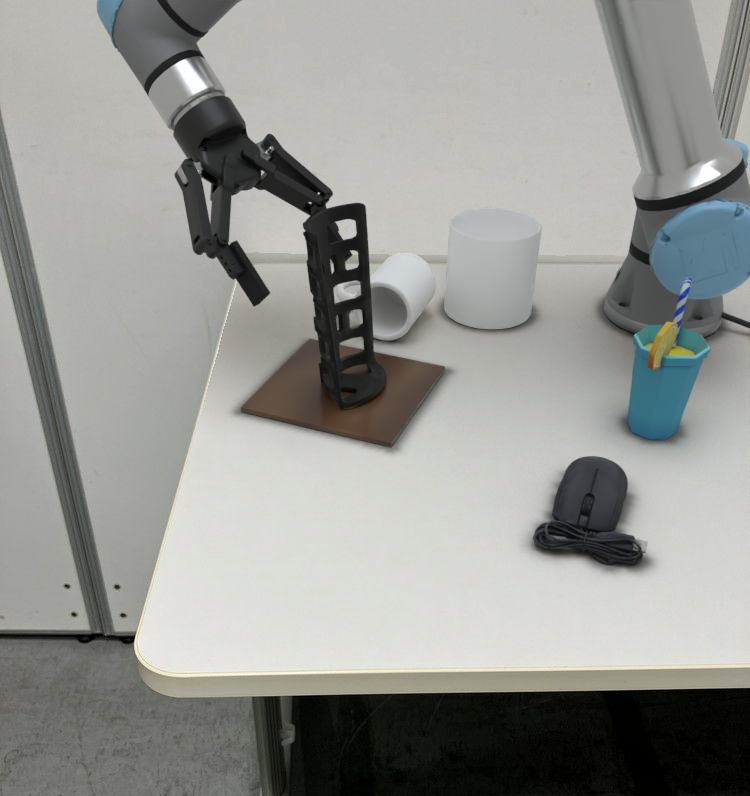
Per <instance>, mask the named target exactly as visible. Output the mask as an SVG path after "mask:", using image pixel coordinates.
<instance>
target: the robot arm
mask: <svg viewBox="0 0 750 796" xmlns="http://www.w3.org/2000/svg"><path fill="white" fill-rule="evenodd" d="M241 1H243V0H97V1H96V13H97V15H98V18H99V20H100V22H101V23H102V25H103V27H104V29H105V31H106V32H107V34H108V36H109V38H110V40H111V43H112V45H113V47H114V48H115V49H116V50H117V52H118V53H119V54H120V55H121V56H122V59H124V61H125V63H126V64H127V66H128V67H129V69H130V71H131V72H132V74H133V75H134V76H135V78H136V79H137V81H138V82H139V84H140V85H141V86H142V88H143V90H144V92H145V94H146V95H147V97H148V99H149V100H150V102H151V103H152V105H153V106H154V108H155V110H156V111H157V113H158V115H159V116H160V118H161V119H162V121H163V122H164V124H165V125H166V127H167V129H169V130H170V131H173V134H172V135H173V138H174V140H175V142H176V143H177V145H178V147H179V148H180V149H181V151H182V153H183V154H184V155H185V157H186V158H184V159H183V161H182V162H181V164H180V165H179V166H178V168H177V169H176V171H175V172H174V178H175V180H176V182H177V184H178V186H179V187H180V189H181V192H182V196H183V202H184V209H185V213H186V218H187V219H186V220H187V225H188V231H189V236H190V242H191V247H192V250H193V253H194V254H195V255H197V256H202V255H203V254H205V255H206V257H207V258H208V259H211V260H214V259H216V258H217V260H218V262H219V263H220V265H221V266H222V268H223V269H224V271H225V272H226V274H227V276H228V278H230V279H231V280H236V282H237V283H238V285H239V286H240V288H241V289H242V291H243V293H244V294H245V296H246V297H247V299H248V300H249V302H250V303H251V305H252V306H253V307H256V306H259V305H260V304H261V303H262V302H263V301H265V299H266V298H267V297H268V296H270V294H271V291H270V290H269V288H268V287H267V285H266V284H265V282H264V281H263V279H262V277H261V276H260V274H259V272H258V271H257V270H256V268H255V266H254V265H253V263H252V262H251V260H250V259H249V257H248V255H247V253H245V251H244V249H243V247H242V246H241V245H240V243H239V241H238V240H234V241H231V242H230V229H231V227H230V226H231V213H232V212H231V211H232V197H233V196H236V195H238V194H240V192H241V191H243V192H244V191H250V190H252V189H254V188H255V189H256V190H258V191H266V192H267V193H269V194H271V195H273V196H275V197H276V198H279V199H280V200H282V201H284V202H285V203H287V204H289V205H290V206H292V207H294V208H295V209H297V210H298V211H301V212H303V213H304V214H306V215H308V216H309V217H307V218H306V220H305V221H307V220H308V219H309V218H311V217H312V216H314V215H315V214H317V213H318V212H320V211H322V210H324V209H327V208H328V207H327V203H328V202H329V201H330V199H331V198H332V197H333V195H334V192H333V190H332V189H331V188H330V187H329V186H328V185H326V183H325V182H323V181H322V180H321V179H320V178H319V177H317V176H316V175H315V174H314V173H313V172H311V171H310V170H309V169H308V168H307V167H306V166H305V165H303V164H302V163H301V162H299V160H297V159H296V158H295V157H294V156H292V155H291V154H290V153H289V152H288V151H287V150H286V149H284V147H283V146H282V144H281V143H280V141H278V139H277V138H276V137H275V136H274V135H273V134H272V133H267V134H266V135H265V137H264V138H263V139H262V140H261V141H259V142H257V143H255V142H254V141H253V140H252V139H251V138H250V137H249V135H248V132H247V124H246V121H245V119H244V117H243V116H242V115H241V113H240V112H239V110H238V109H237V107H236V105H235V103H234V101H233V100H232V99H231V98H230V97H229V96H226V95H227V90H226V89H225V88H224V85H223V84H222V83H221V81H220V79H219V78H218V76H217V75H216V73H215V72H214V70H213V69H212V67H211V66H210V64H209V62H208V61H207V59H206V58H205V56H204V55H203V53H202V51H201V49H200V47H199V45H198V42H200V40H201V39H202V38H204V37H205V36H206V35H207V34H208V33H209V32H210V30H211V29H212V28H213V27H214V26H215V25H216V24H217V23H219V22H220V20H221V19H222V18H223V17H224V16H225V15H227V14H228V12H229V11H231V10H232V8H234V7H235V6H236V5H237V4H239V3H240V2H241ZM593 4H594V7H595V11H596V14H597V18H598V21H599V25H600V29H601V32H602V36H603V39H604V42H605V46H606V51H607V54H608V56H609V60H610V64H611V68H612V71H613V74H614V78H615V82H616V85H617V88H618V92H619V96H620V99H621V103H622V106H623V109H624V114H625V117H626V121H627V124H628V128H629V131H630V135H631V138H632V142H633V145H634V150H635V153H636V156H637V159H638V163H639V166H640V172H639V173H638V176H637V177H636V179H635V180H634V183H633V184H632V187H631V191H632V196H633V199H634V201H635V206H636V210H635V215H634V221H633V227H632V232H631V237H630V241H629V248H628V252H627V255H626V257H625V258H624V261H623V262H622V264H621V265H619V267H618V269H617V270H616V273H615V276H614V278H613V281H612V282H611V284H610V286H609V288H608V290H607V292H606V294H605V298H604V299H605V300H604V305H603V310H604V313H605V316H606V317H607V318H608V320H610V321H611V323H613V324H614V325H616V326H618V327H619V328H621V329H623V330H626V331H627V332H629V333H633V334H636V333H638V332H639V331H641V330H643V329H644V328H646V327H648V326H649V325H665V323H666V322H673V320H674V316H675V312H676V308H677V304H678V299H679V295H680V291H681V286H682V284H683V282H684V280H685V278H688V277H689V278H691V279H692V283H691V287H690V290H689V293H688V297H687V301H686V305H685V309H684V313H683V317H682V321H681V325H680V327H683V328H686V329H688V330H691V331H694V332H697V333H699V334H701V335H702V336H703V338H706V337H708V336H710V335H712V334H714V333H715V332H716V331H718V330H719V328H720V327H721V325H722V324H721V323H722V319H723V320H726V321H728V322H731V323H734V324H736V325H739V326H742V327H745V328H747V329H749V330H750V321H748V320H745V319H743V318H740V317H737V316H735V315H731V314H729V313H727V312H724V297H723V296H724V295H727V294H729V293H730V292H732V291H734V290H736V289H737V288H739V287H740V286H742V285H744V283H746V282H747V280H749V278H750V181H749V177H748V172H747V168H748V166H749V162H748V161H749V160H748V159H749V148H748V146H747V145H746V144H745V143H743V142H742V141H739V140H735V139H733V138H732V139H731V138H726V137H723V132H722V128H721V125H720V120H719V116H718V112H717V107H716V104H715V98H714V93H713V91H712V86H711V81H710V77H709V73H708V69H707V64H706V60H705V55H704V50H703V47H702V43H701V38H700V33H699V29H698V26H697V20H696V17H695V11H694V8H693V4H692V0H593ZM262 172H263V173H262ZM202 179H203V180H205V181H206V182H208V183H209V184H210V197H209V201H211V208H210V215H209V212H208V205H207V199H206V195H205V194H206V193H205V188H204V183H203V181H202ZM327 231H328V238H329V243H332V242H336V241H340V240H344V239H343V237H342V235H341V234H340V227H339V225H338V224H337V222H332V223H330V224H329V225H327ZM229 243H230V244H229ZM344 255H345V263H346V262H347V261H348V260H349V259H350V258H351V257H353V253H352V251H347V252H346V253H344ZM330 262H331V263H332V264H333V258H332V256H331V257H330Z"/></svg>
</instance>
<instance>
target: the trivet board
mask: <svg viewBox="0 0 750 796" xmlns="http://www.w3.org/2000/svg"><path fill="white" fill-rule="evenodd" d="M363 350H364V349H362V348H358V347H352V346H347V345H342V344H340V345H339V353H340V359H341V358H343V357H346V356H348V355H352V354H356V353H359V352H361V351H363ZM320 357H322V356H321V354H320V351H319V341H318V339H315V338H309V339H307V340H306V341H305V342H304V344H303V345H302V346H301V347H299V349H297V350H296V351H295V352H294V354H292V355H291V356H290V357H289V358H288V359H287V360H286V361H285V362H284V363H283V365H281V366H280V367H279V368H278V369H277V371H275V373H273V374H272V375H271V376H270V377H269V378H268V379H267V380H266V381H265V382H264V383H263V384H262V385H261V386H260V387H259V388H258V389H257V391H255V392H254V393H253V394H252V395H251V396H250V397H249V398H248V399H247V400H246V401H245V403H243V405H242V406H241V407H240V412H241V413H245V414H248V415H249V414H250V415H253V416H258V417H261V418H262V417H263V418H266V419H270V420H275V421H280V422H283V423H287V424H292V425H295V426H296V425H297V426H300V427H304V428H309V429H313V430H317V431H321V432H326V433H329V434H334V435H338V436H342V437H345V438H346V437H347V438H351V439H355V440H359V441H363V442H368V443H372V444H375V445H381V446H385V447H389V448H391V447H393V445H394V443H396V441H397V439H398V438H399V436H400V435H401V434H402V432H403V431H404V429H405V428H406V427H407V425H408V424H409V422H410V421H411V419H412V418H413V417H414V415H415V414H416V412H417V411H418V409H419V408H420V407H421V405H422V403H423V402H424V401H425V399H426V398H427V396H428V395H429V393H430V392H431V391H432V389H433V388H434V386H435V385H436V384H437V383H438V381H439V379H440V378H441V377H442V375H443V374H444V372H445V371H446V366H444V365H440V364H436V363H435V364H434V363H430V362H425V361H420V360H415V359H410V358H406V357H401V356H396V355H391V354H387V353H382V352H376V351H374V357H375V360H376V361H377V363H378V364H380V365H381V366H382V367H383V368H384V370H385V372H386V376H387V380H386V385H385V386H384V388H383V389H382V390H381V391H380V392H379V393H378V394H377V395H376V396H374V397H373V398H372V399H370V400H368V401H366V402H364V403H362V404H360V405H358V406H356V407H353V408H350V409H341V408H340V407H339V405H338V403H337V402H336V401H335V400H333V399H332V398H331V397H330V396H329V395H328V394H327V393H326V391H325V389H324V386H323V385H322V384H321V379H320V370H319V363H321V358H320ZM342 373H346V374H358V375H368V374H370V373H371V372H370V370H369V369H368V367H367V365H366V364H362V365H357V366H353V367H351V368H348V369H346V370H344V371H343V372H342ZM355 393H356V391H350V390H342V389H341V396H342V399H344V398H346V397H348V396H351V395H353V394H355Z"/></svg>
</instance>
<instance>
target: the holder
mask: <svg viewBox="0 0 750 796" xmlns="http://www.w3.org/2000/svg"><path fill="white" fill-rule="evenodd" d="M366 207H367V206H366V205H365V203H362V202H352V203H343V204H339V205H335V206H330V207H326V208H327V209H324V210H322V211H320V212H318V213H317V214H315V215H314V216H312V217H311V218H309V217H308V218H309V219H308V218H307V219H308V220H307V219H306V220H307V221H306V220H305V221H304V222H302V228H303V230H304V231H303V232H302V234H303V237H304V240H305V245H306V253H307V260H306V268H307V276H308V282H309V283H308V284H309V285H308V286H309V291H310V293H311V295H312V302H313V307H314V315H315V316H313V317H312V318H313V327H314V332H316V335H317V340H318V341H319V351H320V354H321V356H322V357H320V358H321V363H319V370H320V379H321V384H322V385H323V386H324V389H325V391H326V393H327V394H328V395H329V396H330V397H331V398H332V399H333V400H335V401H336V402H337V403H338V405H339V407H340V408H341V409H350V408H353V407H356V406H358V405H360V404H362V403H364V402H366V401H368V400H370V399H372V398H373V397H374V396H376V395H377V394H378V393H379V392H380V391H381V390H382V389H383V388H384V386H385V385H386V380H387V376H386V372H385V370H384V368H383V367H382V366H381V365H380V364H378V363H377V361H376V360H375V357H374V352H375V349H374V337H373V320H372V301H371V284H370V275H371V269H370V268H371V267H370V251H369V250H370V248H369V236H368V235H369V232H368V221H367V219H368V218H367V217H368V216H367V208H366ZM345 220H352V221H354V222H355V230H356V232H355V235H354V236H353V237H351V238H346V239H343V240H340V241H336V242H332V243H329V238H328V231H327V225H329V224H330V223H332V222H336V223H337V222H341V221H345ZM347 251H351V252H352V251H353V252H357V257H358V259H357V260H358V265H357V267H355V268H350V269H347V267H346V262H345V255H344V253H346V252H347ZM331 256H332V258H333V263H332V264H333V265H332V264H331V259H330V257H331ZM332 266H333V271H332ZM350 281H359V282H360V285H359V288H360V287H361V295H360V296H358V297H356V298H353V299H348V300H344V301H339V302H335V301H336V300H335V288H336V287H337V285H338V284H341V283H345V282H350ZM357 309H360V310H362V319H363V323H362V324H360V325H359V324H358V325H355V326H351V320H350V319H351V318H350V314H351V312H353V310H357ZM355 338H362V339H363V340H362V341H363V349H362V350H363V351H361V352H359V353H356V354H352V355H348V356H346V357H343V358H341V359H340V353H339V345H341V343H344V342H345V341H346V342H347V341H348V340H351V339H355ZM362 364H366V365H367V367H368V369H369V370H370V372H371V373H370V374H368V375H358V374H346V373H342V372H343V371H344V370H346V369H348V368H351V367H353V366H357V365H362ZM341 389H342V390H350V391H356V393H355V394H353V395H351V396H348V397H346V398H344V399H342V396H341Z"/></svg>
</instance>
